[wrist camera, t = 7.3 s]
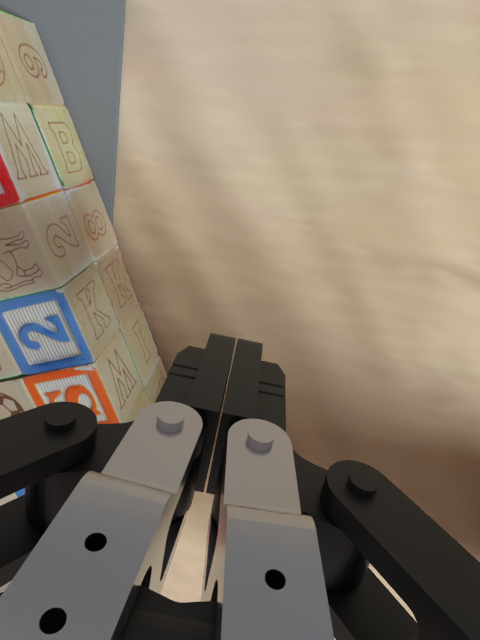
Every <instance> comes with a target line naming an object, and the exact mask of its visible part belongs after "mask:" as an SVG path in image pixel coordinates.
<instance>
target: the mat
mask: <svg viewBox="0 0 480 640" xmlns="http://www.w3.org/2000/svg"><path fill="white" fill-rule="evenodd" d="M125 1H126V0H0V10H2V11H5V12H7V13H10V14H12V15H15V16H17V17H20V18H23V19H25V20H28V21H30V22H32V23H34V24H35V27H36V29H37V32H38V34H39V37H40V39H41V42H42V45H43V47H44V50H45V53H46V56H47V58H48V61H49V63H50V66H51V68H52V71H53V74H54V76H55V79H56V81H57V84H58V87H59V89H60V92H61V95H62V97H63V101H64V105H65V107H66V108H67V110H68V111H69V113H70V116H71V119H72V121H73V124H74V127H75V129H76V132H77V135H78V138H79V140H80V143H81V145H82V148H83V151H84V153H85V156H86V159H87V161H88V164H89V166H90V169H91V172H92V176H93V179H94V181H95V183H96V186H97V188H98V191H99V193H100V196H101V198H102V201H103V203H104V206H105V209H106V211H107V214H108V217H109V220H110V222H111V225H112V221H113V204H114V187H115V171H116V154H117V137H118V120H119V103H120V86H121V69H122V52H123V35H124V18H125Z"/></svg>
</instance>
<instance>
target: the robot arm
mask: <svg viewBox="0 0 480 640" xmlns="http://www.w3.org/2000/svg"><path fill="white" fill-rule="evenodd" d="M235 339H236V338H233V337H228V336H223V335H218V334H213V333H211V334H210V337H209V340H208V343H207V346H206V348H205V349H202V348H197V347H192V346H188V347H187V348H185V349H184V350H182V351H181V352H179V353H178V354H177V356H176V358H175V360H174V362H173V366H172V367H171V369H170V371H169V374H168V375H167V378H166V380H165V382H164V384H163V386H162V388H161V391H160V393H159V395H158V397H157V399H156V401H155V403H153V404H150V405H148V406H146V407H145V408H144V409H142V410H141V412H140V413H139V414H138V416H137V417H136V419H135V420H134V421H130V422H126V423H114V424H97V417H96V415H95V413H94V412H93V411H92V410H91V409H90V408H88V407H87V406H85V405H82V404H79V403H75V402H54V403H49V404H45V405H42V406H39V407H36V408H33V409H30V410H27V411H24V412H21V413H18V414H16V415H13V416H10V417H7V418H4V419H1V420H0V499H2V498H4V497H6V496H8V495H10V494H13V493H15V492H17V491H19V490H21V489H24V488H25V494H24V495H22V496H20V497H18V498H16V499H14V500H12V501H10V502H7V503H5V504H3V505H1V506H0V587H1V586H3V585H5V584H6V583H8V582H9V581H11V580H12V581H11V582H10V584H9V585H8V587H7V588H6V590H5V591H4V592H2V593H0V640H334V637H335V639H336V640H480V562H479V561H478V560H477V559H475V558H474V557H473V556H472V555H471V554H470V553H469V552H468V551H467V550H465V549H464V548H463V547H462V546H461V545H460V544H459V543H458V542H457V541H456V540H454V539H453V538H452V537H451V536H450V535H449V534H448V533H447V532H446V531H445V530H443V529H442V528H441V527H440V526H439V525H438V524H437V523H436V522H435V521H434V520H432V519H431V518H430V517H429V516H428V515H427V514H426V513H425V512H424V511H423V510H421V509H420V508H419V507H418V506H417V505H416V504H415V503H414V502H413V501H412V500H410V499H409V498H408V497H407V496H406V495H405V494H404V493H403V492H402V491H401V490H399V489H398V488H397V487H396V486H395V485H394V484H393V483H392V482H391V481H389V480H388V479H387V478H386V477H385V476H384V475H383V474H381V473H380V472H379V471H377V470H376V469H374V468H373V467H371V466H369V465H366V464H364V463H361V462H357V461H350V460H345V461H339V462H336V463H334V464H333V465H332V466H330V468H329V469H328V471H327V470H325V469H323V468H321V467H319V466H316V465H314V464H312V463H310V462H308V461H306V460H305V459H303V458H302V457H301V456H299V455H298V454H297V453H296V452H295V451H294V450H293V449H292V443H291V440H290V438H289V436H288V435H287V433H286V417H285V374H284V373H283V371H282V370H281V368H280V367H279V365H278V364H275V363H270V362H266V361H261V357H262V346H263V344H262V343H258V342H253V341H248V340H243V339H238V341H237V345H236V350H235V355H234V360H233V364H232V369H231V374H230V379H229V383H228V388H227V393H226V398H225V402H224V407H223V412H222V417H221V422H220V427H219V432H218V437H217V442H216V447H215V451H214V456H213V461H212V466H211V471H210V476H209V481H208V486H207V491H206V493H210V494H215V495H214V500H213V505H212V511H211V515H210V520H209V525H208V534H207V545H206V555H205V566H204V576H203V586H202V597H201V602H187V603H179V602H175V601H172V600H170V599H168V598H166V597H164V596H162V595H160V593H161V590H162V587H163V584H164V581H165V579H166V576H167V573H168V570H169V567H170V564H171V561H172V558H173V555H174V552H175V549H176V546H177V543H178V541H179V538H180V535H181V532H182V529H183V526H184V523H185V520H186V515H187V511H188V510H189V508H190V506H191V503H192V499H193V495H194V491H200V492H204V487H205V482H206V478H207V473H208V468H209V464H210V459H211V455H212V450H213V445H214V441H215V436H216V432H217V427H218V422H219V418H220V413H221V408H222V404H223V399H224V394H225V389H226V384H227V379H228V374H229V369H230V364H231V359H232V354H233V349H234V344H235ZM370 563H371V565H372V566H373V567H374V568H375V569H376V570H377V571H378V572H379V574H380V575H381V576H382V577H383V578H384V579H385V580H386V581H387V583H388V584H389V585H390V586H391V587H392V588H393V589H394V590H395V592H396V593H397V594H398V595H399V596H400V597H401V598H402V600H403V601H404V602H405V603H406V604H407V605H408V607H409V608H410V609H411V611H412V612H413V614H414V616H415V618H416V621H417V623H416V621H415V620H414V619H413V618H412V617H411V616H410V615H409V613H408V612H407V611H406V610H405V609H404V608H403V606H402V605H401V604H400V603H399V602H398V601H397V600H396V598H395V597H394V596H393V595H392V594H391V593H390V592H389V590H388V589H387V588H386V587H385V586H384V585H383V584H382V582H381V581H380V580H379V579H378V578H377V577H376V576H375V574H374V573H373V572H372V571H371V570H370V569H369V568H368V566H369V564H370Z"/></svg>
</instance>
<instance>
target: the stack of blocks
mask: <svg viewBox="0 0 480 640" xmlns="http://www.w3.org/2000/svg"><path fill="white" fill-rule="evenodd" d="M166 378H167V374H166V371H165V368H164V366H163V363H162V360H161V358H160V356H159V355H158V351H157V348H156V345H155V343H154V340H153V337H152V334H151V332H150V329H149V327H148V324H147V321H146V319H145V316H144V314H143V311H142V309H141V306H140V305H139V301H138V297H137V295H136V292H135V289H134V287H133V284H132V281H131V279H130V276H129V274H128V271H127V269H126V266H125V263H124V260H123V257H122V254H121V251H120V249H119V247H118V244H117V238H116V236H115V233H114V230H113V227H112V225H111V222H110V220H109V217H108V214H107V211H106V209H105V206H104V203H103V201H102V198H101V196H100V193H99V191H98V188H97V186H96V183H95V181H94V179H93V176H92V172H91V169H90V166H89V164H88V161H87V159H86V156H85V153H84V151H83V148H82V145H81V143H80V140H79V138H78V135H77V132H76V129H75V127H74V124H73V121H72V119H71V116H70V113H69V111H68V110H67V108H66V107H65V105H64V101H63V97H62V95H61V92H60V89H59V87H58V84H57V81H56V79H55V76H54V74H53V71H52V68H51V66H50V63H49V61H48V58H47V56H46V53H45V50H44V47H43V45H42V42H41V39H40V37H39V34H38V32H37V29H36V27H35V24H34V23H32V22H30V21H28V20H25V19H23V18H20V17H17V16H15V15H12V14H10V13H7V12H5V11H2V10H0V420H1V419H4V418H7V417H10V416H13V415H16V414H18V413H21V412H24V411H27V410H30V409H33V408H36V407H39V406H42V405H45V404H49V403H54V402H75V403H79V404H82V405H85V406H87V407H88V408H90V409H91V410H92V411H93V412H94V413H95V415H96V417H97V424H114V423H126V422H130V421H134V420H135V419H136V417H137V416H138V414H139V413H140V412H141V410H142V409H144V408H145V407H146V406H148V405H150V404H153V403H155V401H156V399H157V397H158V395H159V393H160V391H161V388H162V386H163V384H164V382H165V380H166ZM24 494H25V488H24V489H21V490H19V491H17V492H15V493H13V494H10V495H8V496H6V497H4V498H2V499H0V506H1V505H3V504H5V503H7V502H10V501H12V500H14V499H16V498H18V497H20V496H22V495H24Z"/></svg>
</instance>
